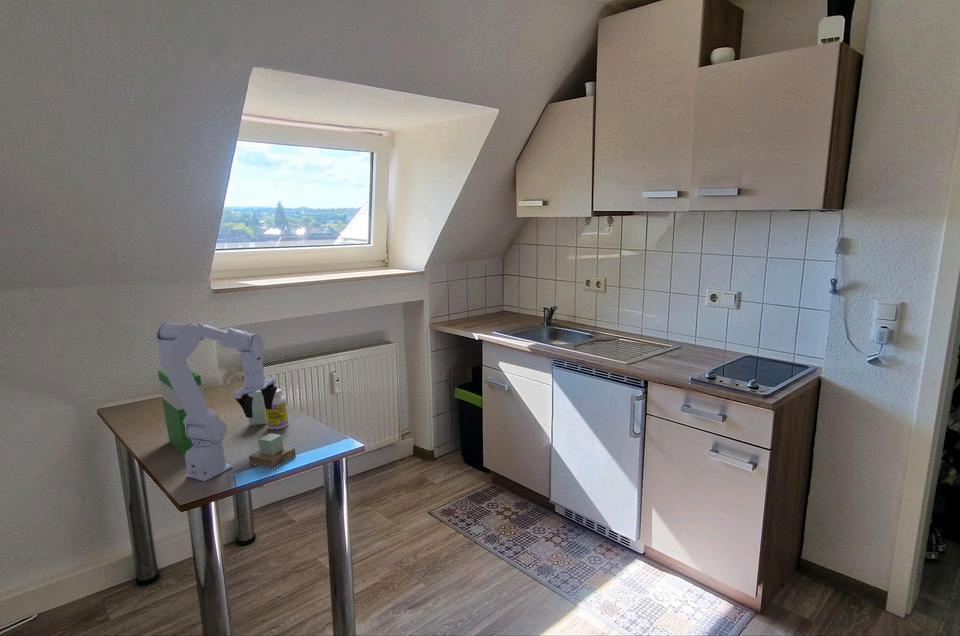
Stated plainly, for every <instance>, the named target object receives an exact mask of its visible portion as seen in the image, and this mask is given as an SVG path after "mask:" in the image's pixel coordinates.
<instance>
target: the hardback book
mask: <svg viewBox="0 0 960 636" xmlns="http://www.w3.org/2000/svg"><path fill="white" fill-rule="evenodd" d="M190 371H191V373H192V375H193V377H194V379H195V381H196V383H197V385H198V387H199V389H200V391H201V394H202V396H203V397H204V392H203V387H202V386H203V385H202V379H201V378H202V377H201V375H200V374H198V373H197V372H195V371H193V370H191V369H190ZM157 375H158V381H159V386H160V393H161V399H162V405H163V411H164V416H165V424H166V428H167V429H166V430H167V436H168V441H169V443H170V444H171V445H172V444H173V445H174V446H175V447H176V448H177V449H176V448H175V447H174V448H175V449H176V450H177V451H178V452H179V453H181V455H183V456H184V457H185V453H186V451H187V450H189V449H190V448H191V447H192V446H193V445H194V444H193V443H192V441H191V439H189V438H188V437H187V436H186V433H185V425H184V423H183V420H184V419H185V417H186V416H187V414H186V412H185V410H184V408H183V407H182V405H181V403H180V401H179V399H178V397H177V395H176V393H175V391H174V389H173V387H172V385H171V383H170V381H169V379H168V377H167V375H166V374H165V372H164V370H162V369H161V370H157ZM173 445H172V446H173Z"/></svg>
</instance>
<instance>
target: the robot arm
mask: <svg viewBox="0 0 960 636" xmlns="http://www.w3.org/2000/svg"><path fill="white" fill-rule="evenodd" d="M205 339H208V340H213V341H215V342H216V341H218V342H219V344H220V346H222V347H224V348H228V349H233V350H237V351H238V352H240V355H241V364H242V372H243V378H244V384H245V385H244V386H242V387H241V388H239V389H237V390H235V391H234V392H233V395H234V399H235V401H236V402H237V403H238V404H239V405H240V407H241V409H242V411H243V412H244V415H245V418H252V417H253V413H252V401H253V397H249V396H248V394H250V393H253V392H256V391H258V390H261V392H262V395H263V399H264V405H265V408H266V409H269V410H270V409H272V403H273V398H274V395H275V392H276V390H277V388H278V387H277V386H276V385H277V379H276V378H273V377H271V378H268V379H265V370H264V364H263V363H264V362H263V356H264V348H265V340H264V339H263V337H262V336H261V335H260V334H259V333H249V331H248V330H245V329H244V330H240V329H238V327H237V326H230V327H226V328H224V329H220V328H217V327H213V326H210V325H207V324H204V323H195V322H172V321H166V322H165V321H164V322H163V323H161V324H160V325H159V327H158V328H157V331H156V333H155V335H154V340H155V342H156V344H157V346H158V353H159V364H160V365H161V368H162V369H163V370H162V371H163V372H165V374H166V375H167V377H168V379H169V381H170V383H171V385H172V387H173V389H174V391H175V393H176V395H177V397H178V399H179V401H180V403H181V405H182V407H183V408H184V410H185V412H186V414H187V416H186V417H185V419H184V420H183V423H184V425H185V433H186V436H187V437H188V438H189V439H191V441H192V443H193V444H194V445H193V446H192V447H191V448H190V449H189V450H187V451H186V453H185V456H184V459H185V466H186V472H187V474H186V475H185V476H186V477H187V478H190V479H195V480H197V481H201V482H207V481H209V480H211V479H212V478H215V477H216V476H219V475H220V474H222V473H224V472H226V471H228V470H230V469H232V468H233V467H234V465H233V464H229V463H226V457H225V451H224V450H225V449H224V442H223V441H224V440H225V437H226V435H227V431H228V426H227V424H226V422H225V420H223V419H221V418H220V416H219V414H218V413H217V412H215V411H214V410H212V409H211V408H209V406H208V404H207V402H206V399H205V398H204V395H203V396H202V394H201V391H200V389H199V387H198V385H197V383H196V381H195V379H194V377H193V375H192V373H191V371H192V370H191V369H190V367H189V365H188V363H187V359H188V358H189V357H190V356H191V355H192V353H193V352H194V351H195V349H196V348H197V346H198V345H199V344H200V341H204V340H205ZM190 370H191V371H190Z"/></svg>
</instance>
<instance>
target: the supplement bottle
mask: <svg viewBox="0 0 960 636" xmlns="http://www.w3.org/2000/svg"><path fill="white" fill-rule="evenodd" d="M282 394H283V393H282V389H281V388H278V387H277V390H276V392H275V395H274V398H273V403H272V409H270V410H269V409H266V408H265V409H266V417H267V424H266V425H267V428H268V429H269V430H273V429H275V430H281V429H284V428H286V427H287V426H288V424H289V420H288V409H287V402H286V401H287V400H286V397H285V396H284V395H282Z"/></svg>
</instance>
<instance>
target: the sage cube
mask: <svg viewBox="0 0 960 636" xmlns="http://www.w3.org/2000/svg"><path fill="white" fill-rule="evenodd" d="M283 446H284V442H283V435H282V434H277V433H271V432H270V433H268V434H267V435H263V436H262V437H260V438H258V447H259V450H260V453H261V454H265V455H271V456H272V455H274V454H276V453H278V452H280V451H281V450H283Z"/></svg>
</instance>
